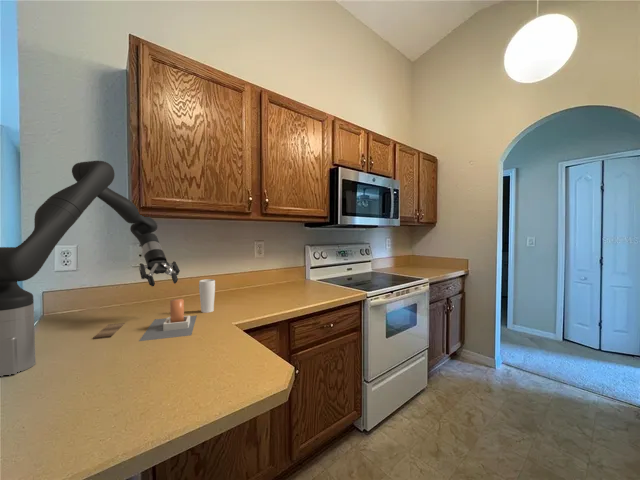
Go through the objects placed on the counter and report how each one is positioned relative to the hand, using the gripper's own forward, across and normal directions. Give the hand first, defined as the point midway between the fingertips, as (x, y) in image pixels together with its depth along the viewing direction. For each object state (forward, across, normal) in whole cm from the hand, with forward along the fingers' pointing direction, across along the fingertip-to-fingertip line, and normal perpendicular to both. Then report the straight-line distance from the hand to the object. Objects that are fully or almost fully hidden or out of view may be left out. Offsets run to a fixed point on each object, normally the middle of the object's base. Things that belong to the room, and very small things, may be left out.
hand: (164, 283), depth 114 cm
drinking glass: (+12, +18, +11) cm, 24 cm away
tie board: (+19, -2, +4) cm, 19 cm away
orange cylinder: (+19, 0, +2) cm, 19 cm away
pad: (+10, -14, +13) cm, 21 cm away
